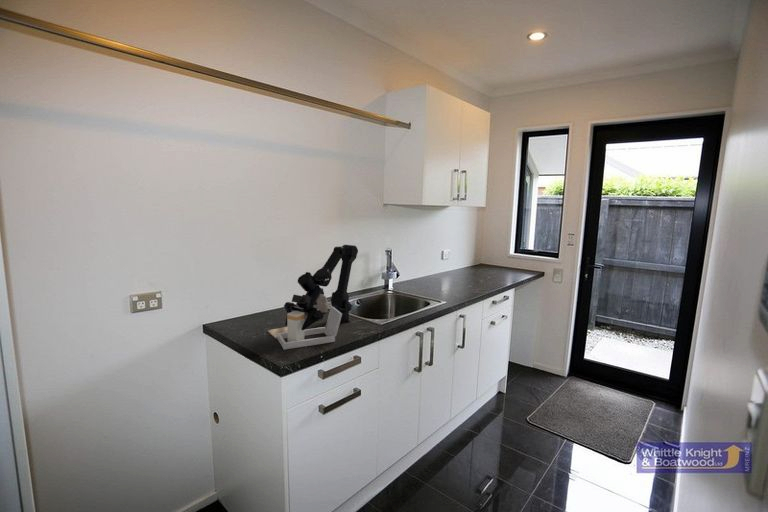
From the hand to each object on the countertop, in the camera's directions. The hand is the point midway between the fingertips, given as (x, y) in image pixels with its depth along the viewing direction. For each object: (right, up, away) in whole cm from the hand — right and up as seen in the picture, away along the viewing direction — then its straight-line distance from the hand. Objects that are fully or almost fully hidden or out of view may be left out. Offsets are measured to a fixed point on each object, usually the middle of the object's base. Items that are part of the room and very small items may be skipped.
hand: (293, 327), depth 156 cm
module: (0, -7, +2) cm, 7 cm away
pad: (-8, -5, +13) cm, 16 cm away
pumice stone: (+1, 0, +46) cm, 46 cm away
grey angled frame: (+6, -6, +5) cm, 10 cm away
